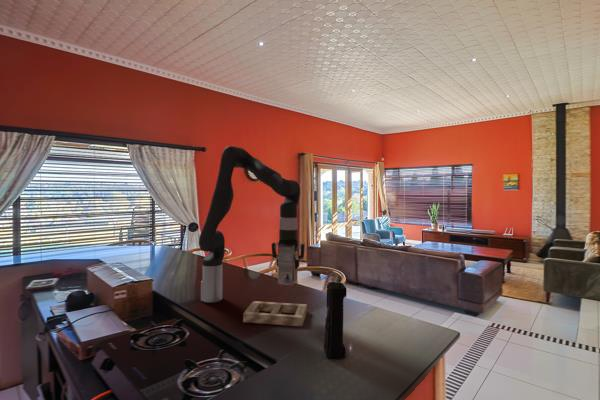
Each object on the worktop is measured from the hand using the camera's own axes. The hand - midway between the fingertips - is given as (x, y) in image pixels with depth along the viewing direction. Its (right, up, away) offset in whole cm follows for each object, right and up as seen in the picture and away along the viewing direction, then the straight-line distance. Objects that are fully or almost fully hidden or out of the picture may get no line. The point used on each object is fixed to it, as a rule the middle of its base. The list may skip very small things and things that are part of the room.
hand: (288, 268), depth 127 cm
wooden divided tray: (-5, -21, +1) cm, 21 cm away
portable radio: (+16, -22, -27) cm, 38 cm away
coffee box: (0, -6, 0) cm, 6 cm away
